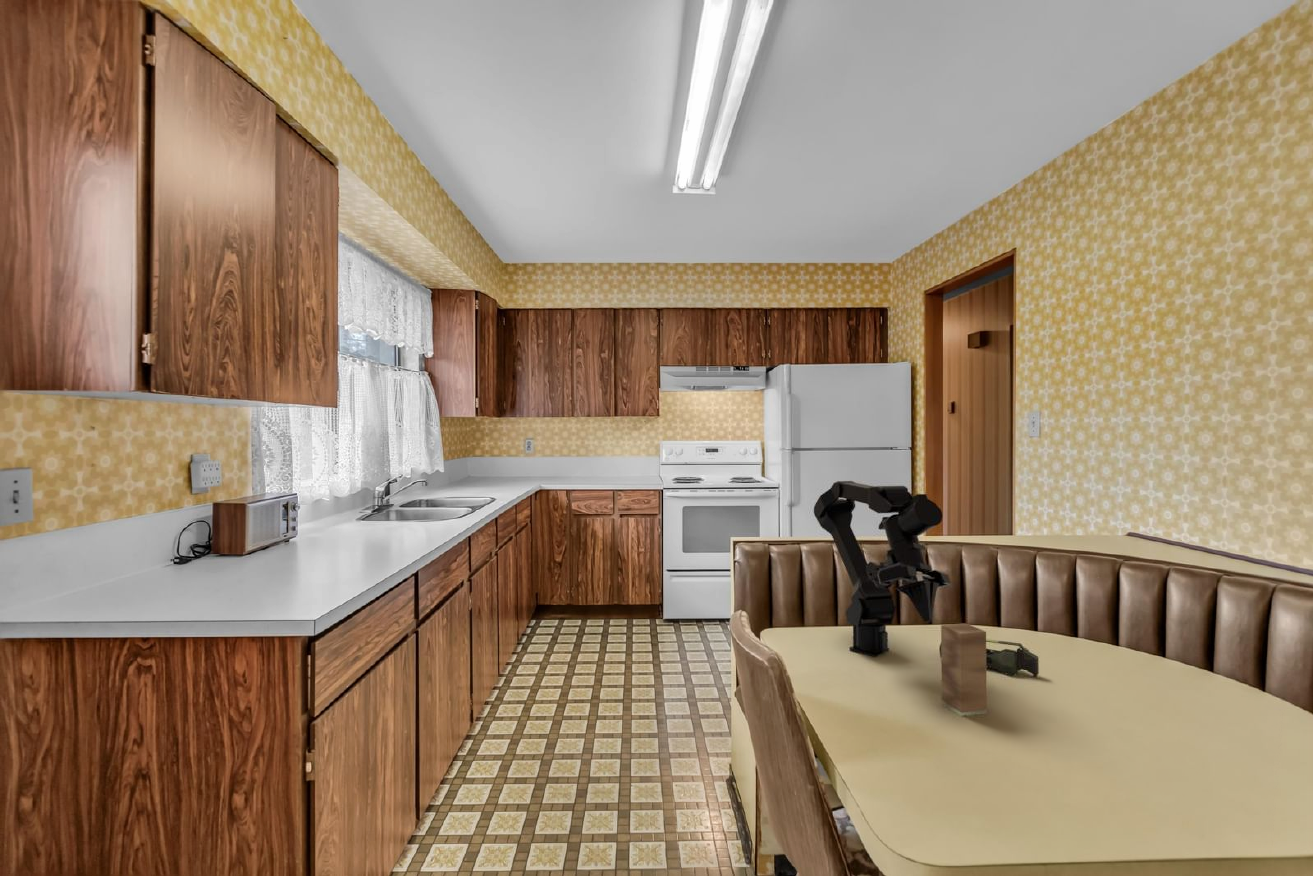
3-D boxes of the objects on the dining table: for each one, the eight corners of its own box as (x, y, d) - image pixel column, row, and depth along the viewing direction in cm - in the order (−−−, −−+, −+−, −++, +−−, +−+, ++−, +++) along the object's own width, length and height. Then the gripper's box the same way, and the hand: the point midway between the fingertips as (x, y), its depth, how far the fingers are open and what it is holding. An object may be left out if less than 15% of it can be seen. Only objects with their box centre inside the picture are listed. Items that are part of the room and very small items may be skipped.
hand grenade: (943, 655, 134) (1039, 675, 123) (937, 662, 130) (1036, 683, 119) (943, 627, 134) (1039, 644, 123) (937, 632, 130) (1035, 650, 119)
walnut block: (941, 704, 109) (941, 625, 109) (966, 701, 110) (965, 623, 110) (961, 716, 104) (960, 633, 104) (986, 713, 105) (986, 631, 105)
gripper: (891, 559, 135) (912, 632, 128) (845, 549, 124) (865, 628, 117) (939, 544, 128) (964, 620, 121) (895, 532, 117) (920, 615, 110)
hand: (928, 621), depth 117 cm, fingers closed
